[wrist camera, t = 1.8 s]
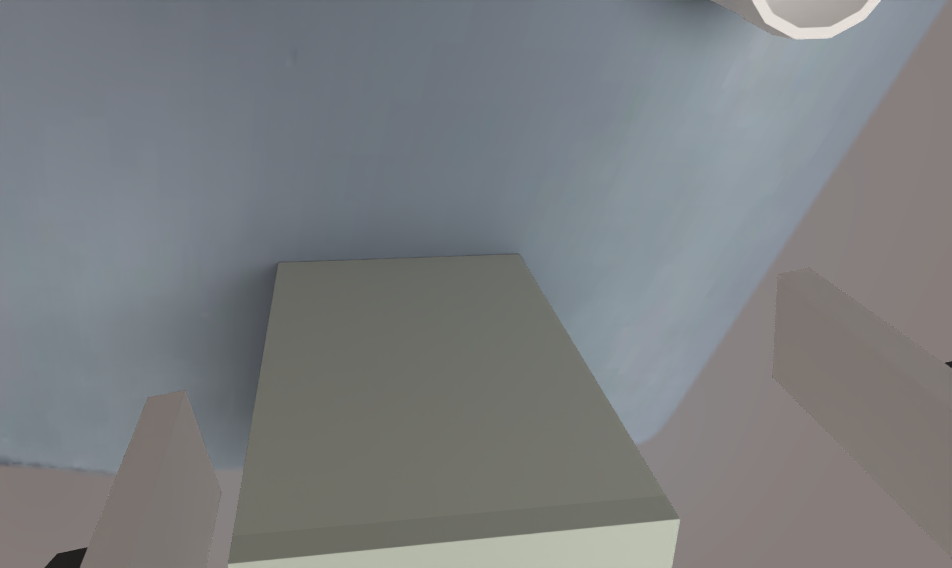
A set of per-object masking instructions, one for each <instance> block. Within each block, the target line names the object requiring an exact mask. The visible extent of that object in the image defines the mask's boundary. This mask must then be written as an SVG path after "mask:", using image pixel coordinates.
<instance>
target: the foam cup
mask: <svg viewBox="0 0 952 568" xmlns="http://www.w3.org/2000/svg"><path fill="white" fill-rule="evenodd" d="M711 1H713V2H715V3H717V4H719V5H721V6H723V7H725V8H727V9H729V10H731V11H733V12H735V13H737V14H739V15H742V17H743V18H744V19H745V20H747V21H748V22H750V23H752V24H754V25H756V26H757V27H759V28H761V29H763V30H765V31H767V32H768V33H770V34H772V35H776V36H781V37H786V38H791V39H817V38H831V37H833V36H835V35H837V34H839V33H840V32H842V31H844V30H846V29H848V28H850V27H852V26H853V25H855V24H857V23H859V22H861V21H863V20H865V18H866V17H867V16H868V15H869V14H870V13H871V11H872V10H873V9H874V8H875V7H876V6H877V4H878V3H879V2H880V1H881V0H711Z"/></svg>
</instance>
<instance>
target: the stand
mask: <svg viewBox="0 0 952 568" xmlns="http://www.w3.org/2000/svg"><path fill="white" fill-rule="evenodd" d="M679 522H680V518H679V516H678V515H677V513H676V511H675V510H674V508H673V506H672V505H671V503H670V501H669V500H668V498H667V496H666V495H665V493H664V492H663V490H662V488H661V487H660V485H659V483H658V482H657V480H656V478H655V477H654V475H653V473H652V472H651V470H650V469H649V467H648V465H647V464H646V462H645V460H644V459H643V457H642V456H641V454H640V452H639V451H638V449H637V447H636V445H635V444H634V442H633V440H632V439H631V437H630V436H629V434H628V432H627V431H626V429H625V427H624V426H623V424H622V422H621V421H620V419H619V417H618V416H617V414H616V412H615V411H614V409H613V408H612V406H611V404H610V403H609V401H608V399H607V398H606V396H605V394H604V393H603V391H602V389H601V388H600V386H599V384H598V383H597V381H596V380H595V378H594V376H593V375H592V373H591V371H590V370H589V368H588V366H587V365H586V363H585V361H584V360H583V358H582V356H581V355H580V353H579V351H578V350H577V348H576V347H575V345H574V343H573V342H572V340H571V338H570V337H569V335H568V333H567V332H566V330H565V328H564V327H563V325H562V323H561V322H560V320H559V319H558V317H557V315H556V314H555V312H554V310H553V309H552V307H551V305H550V304H549V302H548V300H547V299H546V297H545V295H544V294H543V292H542V291H541V289H540V287H539V286H538V284H537V282H536V281H535V279H534V277H533V276H532V274H531V272H530V271H529V269H528V267H527V266H526V264H525V263H524V261H523V259H522V258H521V256H520V254H505V255H477V256H449V257H422V258H394V259H366V260H339V261H311V262H283V263H278V268H277V274H276V280H275V286H274V292H273V298H272V304H271V310H270V316H269V322H268V328H267V334H266V340H265V346H264V352H263V358H262V363H261V369H260V375H259V381H258V387H257V393H256V399H255V405H254V411H253V417H252V423H251V429H250V435H249V441H248V447H247V453H246V459H245V464H244V470H243V476H242V482H241V488H240V494H239V500H238V506H237V513H236V518H235V524H234V530H233V536H232V542H231V548H230V554H229V560H228V568H672V563H673V557H674V551H675V546H676V539H677V534H678V528H679Z"/></svg>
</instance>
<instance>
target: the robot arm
mask: <svg viewBox="0 0 952 568" xmlns="http://www.w3.org/2000/svg"><path fill="white" fill-rule="evenodd" d="M772 377H773V378H774V379H775V380H776V381H777V382H778V383H779V384H780V385H781V386H782V387H783V388H784V389H785V390H786V391H787V392H788V393H789V394H790V395H791V396H792V397H793V398H794V399H795V400H796V401H797V402H798V403H799V404H800V405H801V406H802V407H803V408H804V409H805V410H806V412H808V413H809V415H811V417H812V418H814V420H815V421H816V422H817V423H818V424H819V425H820V426H821V427H822V428H823V429H824V430H825V431H826V432H827V433H828V434H829V435H830V436H831V437H832V438H833V439H834V440H835V441H836V442H837V443H838V444H839V445H840V446H841V447H842V448H843V449H844V450H845V451H846V452H847V453H848V454H849V455H850V456H851V457H852V458H853V459H854V460H855V461H856V462H857V463H858V464H859V465H860V466H861V467H862V468H863V469H864V470H865V471H866V472H867V473H868V474H869V475H870V476H871V477H872V479H873V480H874V481H875V482H876V483H877V484H878V485H879V486H880V487H881V488H882V489H883V490H884V491H886V493H887V494H888V495H889V496H890V497H891V498H892V499H893V500H894V501H895V502H896V503H897V504H898V505H899V506H900V507H901V508H902V509H903V510H904V511H905V512H906V513H907V514H908V515H909V516H910V517H911V518H912V519H913V520H914V521H915V522H916V523H917V524H918V525H919V526H920V527H921V528H922V529H923V530H924V531H925V532H926V533H927V534H928V535H929V536H930V537H931V538H932V539H933V540H934V541H935V542H936V543H937V544H938V545H939V547H940V548H941V549H943V551H944V552H945V553H946V554H947V555H949V557H950V558H952V361H951V362H946V363H944V362H942V361H941V360H939V359H938V358H936V357H935V356H934V355H932V354H931V353H929V352H928V351H927V350H925V349H924V348H922V347H921V346H920V345H918V344H917V343H915V342H914V341H912V340H911V339H909V338H908V337H907V336H905V335H904V334H902V333H901V332H900V331H898V330H897V329H895V328H894V327H893V326H891V325H890V324H888V323H887V322H885V321H884V320H883V319H881V318H880V317H878V316H877V315H875V314H874V313H873V312H871V311H870V310H869V309H867V308H866V307H864V306H863V305H861V304H860V303H859V302H857V301H856V300H854V299H853V298H852V297H850V296H849V295H847V294H846V293H844V292H843V291H842V290H840V289H839V288H837V287H836V286H835V285H833V284H831V283H830V282H829V281H827V280H826V279H825V278H823V277H822V276H820V275H819V274H818V273H816V272H815V271H813V270H812V269H810V268H806V269H801V270H796V271H791V272H786V273H781V274H778V277H777V296H776V316H775V335H774V354H773V374H772ZM220 497H221V490H220V487H219V484H218V481H217V478H216V475H215V473H214V470H213V467H212V464H211V461H210V458H209V456H208V453H207V450H206V447H205V444H204V441H203V439H202V436H201V433H200V430H199V427H198V424H197V422H196V419H195V416H194V413H193V410H192V407H191V405H190V402H189V399H188V396H187V393H186V390H184V391H179V392H174V393H169V394H164V395H159V396H154V397H148V399H147V401H146V404H145V406H144V409H143V411H142V414H141V416H140V419H139V421H138V424H137V426H136V429H135V431H134V434H133V436H132V439H131V441H130V444H129V446H128V449H127V451H126V454H125V456H124V459H123V461H122V464H121V466H120V469H119V471H118V474H117V476H116V479H115V481H114V484H113V486H112V489H111V491H110V494H109V496H108V499H107V501H106V504H105V506H104V509H103V511H102V514H101V516H100V519H99V521H98V524H97V526H96V528H95V531H94V533H93V536H92V539H91V541H90V543H89V546H88V547H87V548H82V549H77V550H73V551H68V552H63V553H59V554H57V555H56V556H55V557H54V558H53V559H52V560H51V561H50V562H49V564H48V565H47V566H46V567H45V568H206V566H207V562H208V557H209V552H210V547H211V541H212V537H213V532H214V527H215V522H216V517H217V512H218V507H219V502H220Z"/></svg>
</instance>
